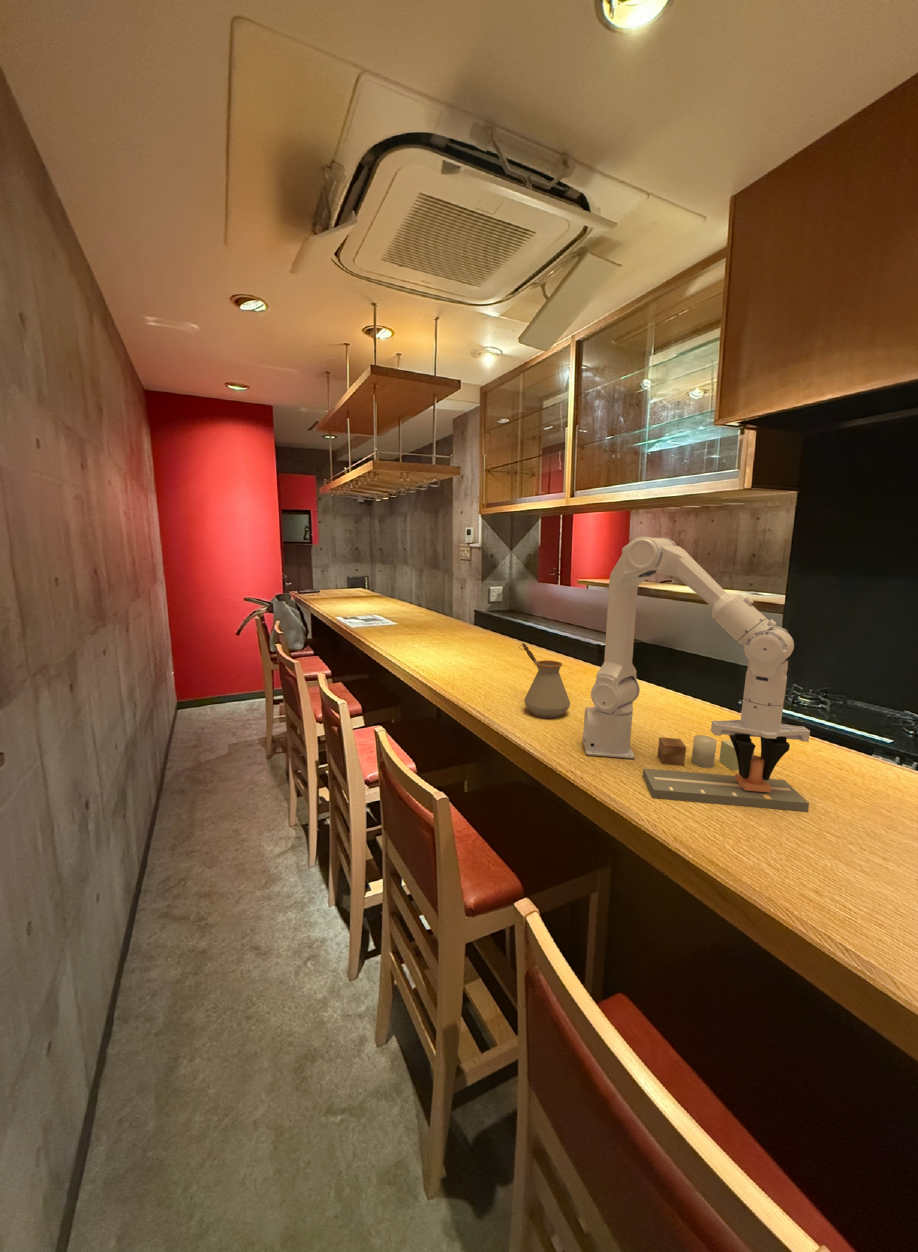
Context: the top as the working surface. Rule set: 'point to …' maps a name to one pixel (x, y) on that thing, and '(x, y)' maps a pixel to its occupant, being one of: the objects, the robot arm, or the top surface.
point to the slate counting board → (721, 790)
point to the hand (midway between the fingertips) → (753, 776)
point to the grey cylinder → (704, 751)
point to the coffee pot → (546, 689)
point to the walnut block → (671, 751)
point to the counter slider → (754, 776)
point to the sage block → (728, 755)
